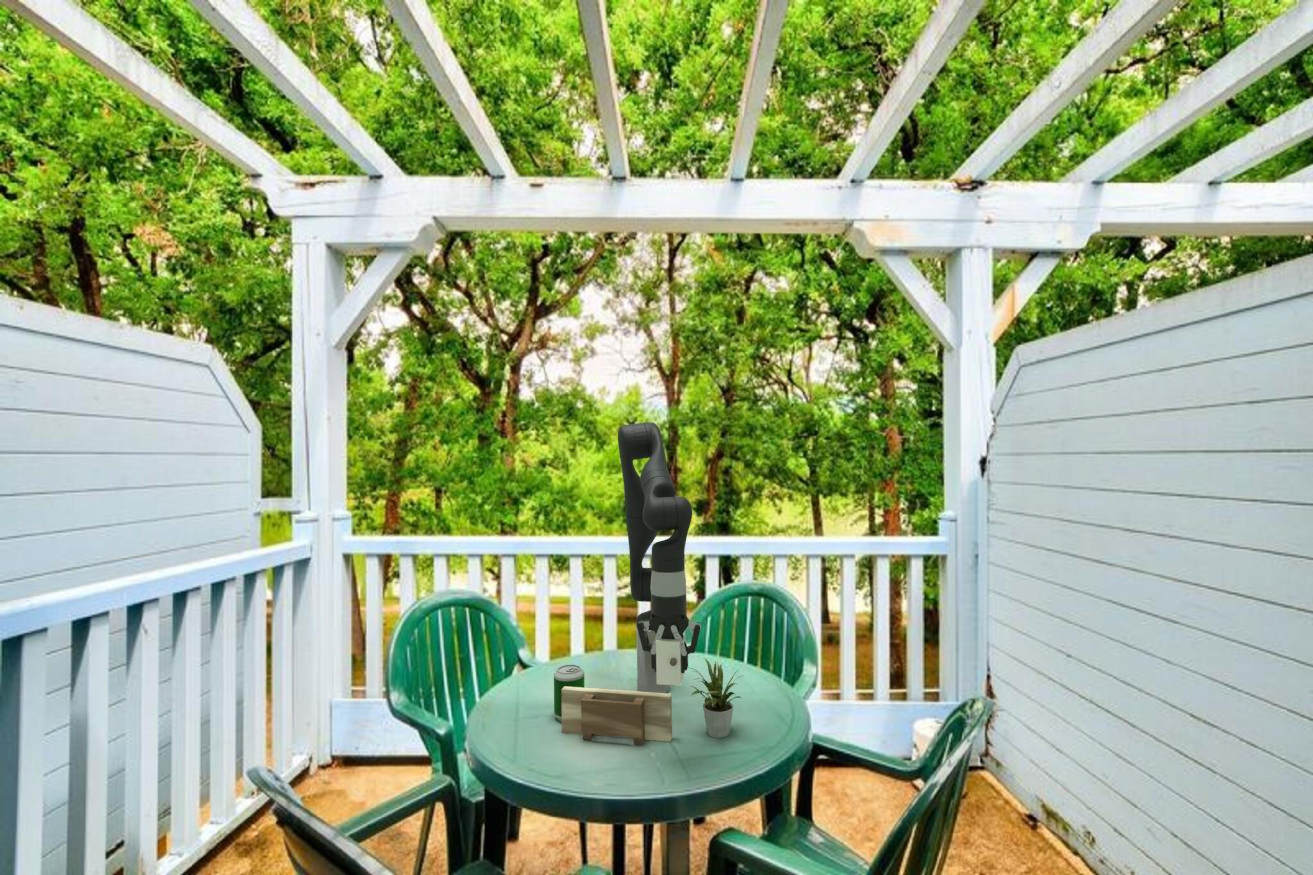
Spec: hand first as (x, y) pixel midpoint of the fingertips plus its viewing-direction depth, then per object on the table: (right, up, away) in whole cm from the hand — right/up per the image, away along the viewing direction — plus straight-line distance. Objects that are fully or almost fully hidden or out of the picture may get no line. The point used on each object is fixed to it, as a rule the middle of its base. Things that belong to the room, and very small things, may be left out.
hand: (669, 670), depth 126 cm
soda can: (-24, -20, +22) cm, 38 cm away
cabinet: (0, -2, +1) cm, 2 cm away
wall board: (-12, -20, +10) cm, 25 cm away
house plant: (+11, -19, +13) cm, 26 cm away
